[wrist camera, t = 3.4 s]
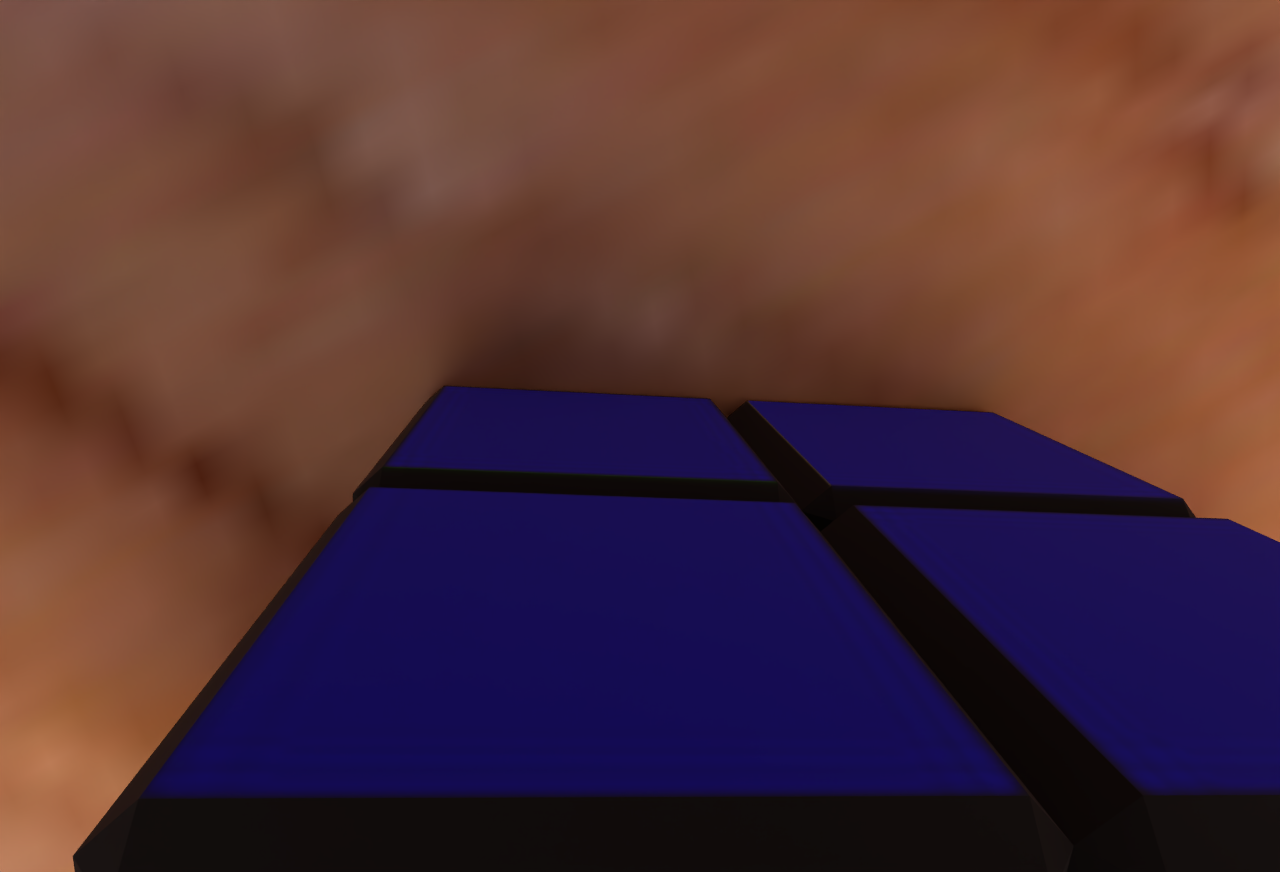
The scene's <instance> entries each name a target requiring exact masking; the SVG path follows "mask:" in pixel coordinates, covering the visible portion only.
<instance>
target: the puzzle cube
mask: <svg viewBox="0 0 1280 872" xmlns="http://www.w3.org/2000/svg"><path fill="white" fill-rule="evenodd" d="M73 861H74V868H75V872H1280V542H1278V541H1275V540H1273V539H1271V538H1269V537H1267V536H1264V535H1262V534H1260V533H1258V532H1255V531H1253V530H1251V529H1249V528H1247V527H1244V526H1242V525H1240V524H1238V523H1236V522H1233V521H1231V520H1229V519H1216V518H1196V517H1195V516H1194V514H1193V513H1192V511H1191V510H1190V508H1189V507H1188V505H1187V504H1186V503H1185V501H1184V500H1183V499H1182V498H1180V497H1178V496H1176V495H1173V494H1171V493H1169V492H1167V491H1165V490H1162V489H1160V488H1158V487H1156V486H1154V485H1151V484H1149V483H1147V482H1145V481H1143V480H1140V479H1138V478H1136V477H1134V476H1132V475H1129V474H1127V473H1125V472H1123V471H1121V470H1118V469H1116V468H1114V467H1112V466H1110V465H1107V464H1105V463H1103V462H1101V461H1099V460H1096V459H1094V458H1092V457H1090V456H1088V455H1085V454H1083V453H1081V452H1079V451H1077V450H1074V449H1072V448H1070V447H1068V446H1066V445H1063V444H1061V443H1059V442H1057V441H1055V440H1052V439H1050V438H1048V437H1046V436H1044V435H1041V434H1039V433H1037V432H1035V431H1033V430H1030V429H1028V428H1026V427H1024V426H1021V425H1019V424H1017V423H1015V422H1013V421H1010V420H1008V419H1006V418H1004V417H1002V416H999V415H997V414H995V413H991V412H971V411H950V410H930V409H909V408H889V407H868V406H848V405H827V404H807V403H786V402H766V401H746V402H745V403H744V404H743V405H742V406H740V407H739V408H738V409H737V410H736V411H735V412H733V413H732V414H731V415H730V416H729V417H728V418H726V417H725V415H724V414H723V413H722V412H721V411H720V410H719V409H718V407H717V406H716V405H715V404H714V403H713V402H712V401H711V399H705V398H684V397H664V396H643V395H623V394H602V393H582V392H561V391H541V390H520V389H500V388H479V387H459V386H443V387H442V388H441V389H440V390H439V391H438V392H437V393H436V394H435V395H434V396H433V397H431V398H430V399H429V400H428V401H427V402H426V403H425V404H424V405H423V406H422V407H421V409H420V410H419V411H418V412H417V414H416V415H415V416H414V417H413V419H412V420H411V421H410V422H409V424H408V425H407V426H406V428H405V429H404V430H403V431H402V433H401V434H400V435H399V436H398V438H397V439H396V440H395V441H394V443H393V444H392V445H391V446H390V448H389V449H388V450H387V451H386V453H385V454H384V455H383V456H382V458H381V459H380V460H379V461H378V463H377V464H376V465H375V466H374V468H373V469H372V470H371V471H370V473H369V474H368V475H367V476H366V478H365V479H364V480H363V481H362V483H361V484H360V485H359V486H358V488H357V489H356V490H355V491H354V493H353V502H352V503H351V504H350V505H349V506H348V507H347V508H346V509H345V510H344V511H342V512H341V513H340V514H339V515H338V516H337V517H336V519H335V520H334V521H333V522H332V524H331V525H330V526H329V528H328V529H327V530H326V531H325V533H324V534H323V535H322V537H321V538H320V539H319V540H318V542H317V543H316V544H315V546H314V547H313V548H312V549H311V551H310V552H309V553H308V555H307V556H306V557H305V558H304V560H303V561H302V562H301V564H300V565H299V566H298V567H297V569H296V570H295V571H294V573H293V574H292V575H291V576H290V578H289V579H288V580H287V582H286V583H285V584H284V585H283V587H282V588H281V589H280V591H279V592H278V593H277V594H276V596H275V597H274V598H273V600H272V601H271V602H270V603H269V605H268V606H267V607H266V609H265V610H264V611H263V612H262V614H261V615H260V616H259V618H258V619H257V620H256V621H255V623H254V624H253V625H252V626H251V628H250V629H249V630H248V632H247V633H246V634H245V635H244V637H243V638H242V639H241V641H240V642H239V643H238V644H237V646H236V647H235V648H234V650H233V651H232V652H231V653H230V655H229V656H228V657H227V659H226V660H225V661H224V662H223V664H222V665H221V666H220V668H219V669H218V670H217V671H216V673H215V674H214V675H213V677H212V678H211V679H210V680H209V682H208V683H207V684H206V686H205V687H204V688H203V689H202V691H201V692H200V693H199V695H198V696H197V697H196V698H195V700H194V701H193V702H192V704H191V705H190V706H189V707H188V709H187V710H186V711H185V713H184V714H183V715H182V716H181V718H180V719H179V720H178V722H177V723H176V724H175V725H174V727H173V728H172V729H171V731H170V732H169V733H168V734H167V736H166V737H165V738H164V740H163V741H162V742H161V743H160V745H159V746H158V747H157V749H156V750H155V751H154V752H153V754H152V755H151V756H150V758H149V759H148V760H147V761H146V763H145V764H144V765H143V767H142V768H141V769H140V770H139V772H138V773H137V774H136V776H135V777H134V778H133V779H132V781H131V782H130V783H129V785H128V786H127V787H126V788H125V790H124V791H123V792H122V794H121V795H120V796H119V797H118V799H117V800H116V801H115V803H114V804H113V805H112V806H111V808H110V809H109V810H108V812H107V813H106V814H105V815H104V817H103V818H102V819H101V821H100V822H99V823H98V824H97V826H96V827H95V828H94V830H93V831H92V832H91V833H90V835H89V836H88V837H87V839H86V840H85V841H84V842H83V844H82V845H81V846H80V848H79V849H78V850H77V851H76V853H75V854H74V855H73Z"/></svg>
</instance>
